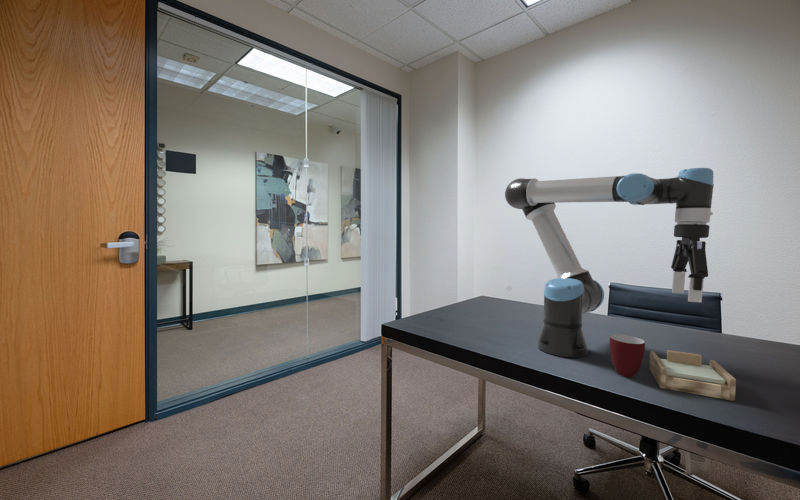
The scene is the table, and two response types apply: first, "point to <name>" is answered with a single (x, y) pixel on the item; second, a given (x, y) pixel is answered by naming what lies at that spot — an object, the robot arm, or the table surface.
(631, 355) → the mug
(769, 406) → the table surface
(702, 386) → the birch box
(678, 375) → the lid
